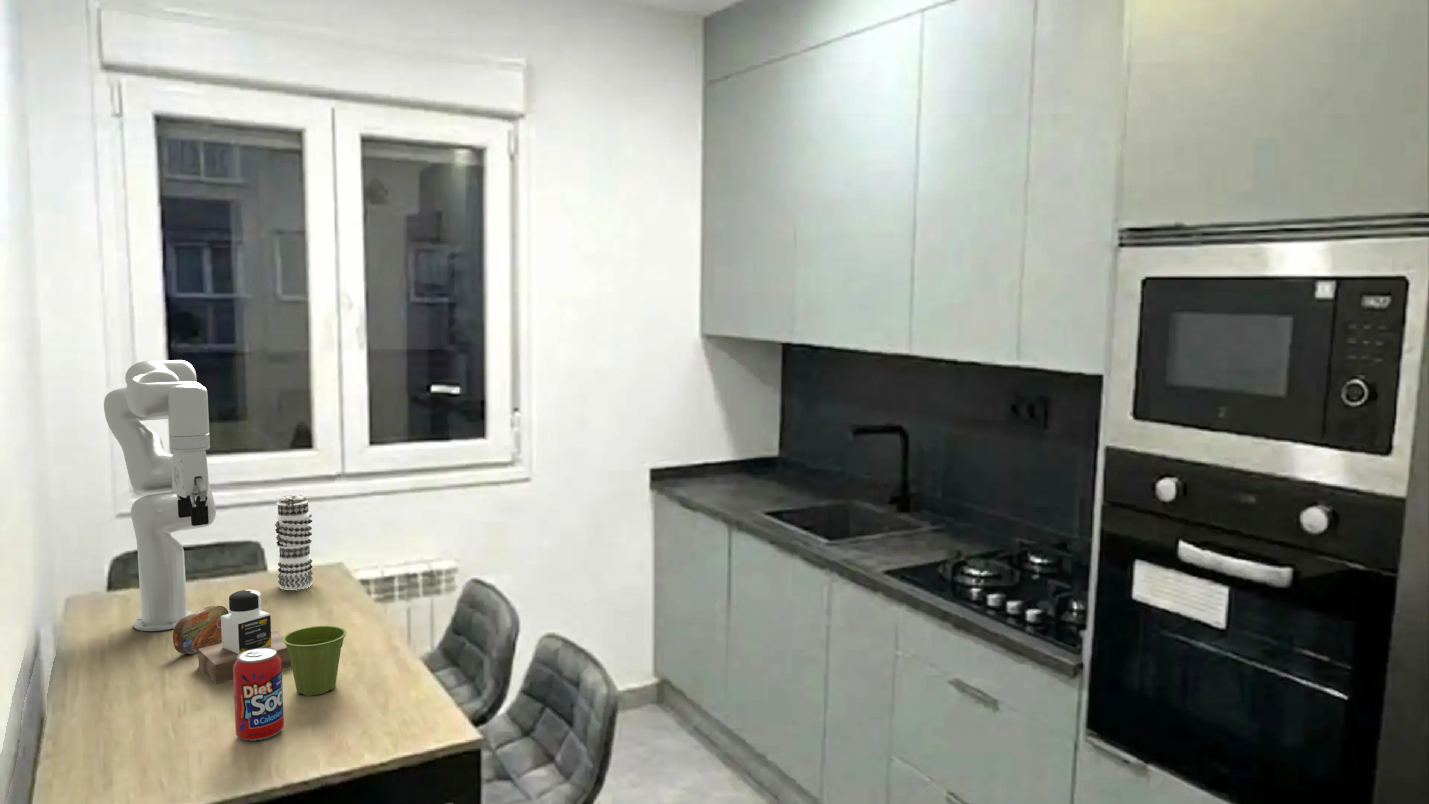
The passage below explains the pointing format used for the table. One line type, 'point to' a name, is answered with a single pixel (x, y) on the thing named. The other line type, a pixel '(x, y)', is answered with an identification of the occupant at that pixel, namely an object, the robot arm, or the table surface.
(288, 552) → the decorative candle
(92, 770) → the table surface
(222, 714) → the table surface
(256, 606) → the medicine bottle
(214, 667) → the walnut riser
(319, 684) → the plant pot
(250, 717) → the soda can
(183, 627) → the tin
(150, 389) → the robot arm
